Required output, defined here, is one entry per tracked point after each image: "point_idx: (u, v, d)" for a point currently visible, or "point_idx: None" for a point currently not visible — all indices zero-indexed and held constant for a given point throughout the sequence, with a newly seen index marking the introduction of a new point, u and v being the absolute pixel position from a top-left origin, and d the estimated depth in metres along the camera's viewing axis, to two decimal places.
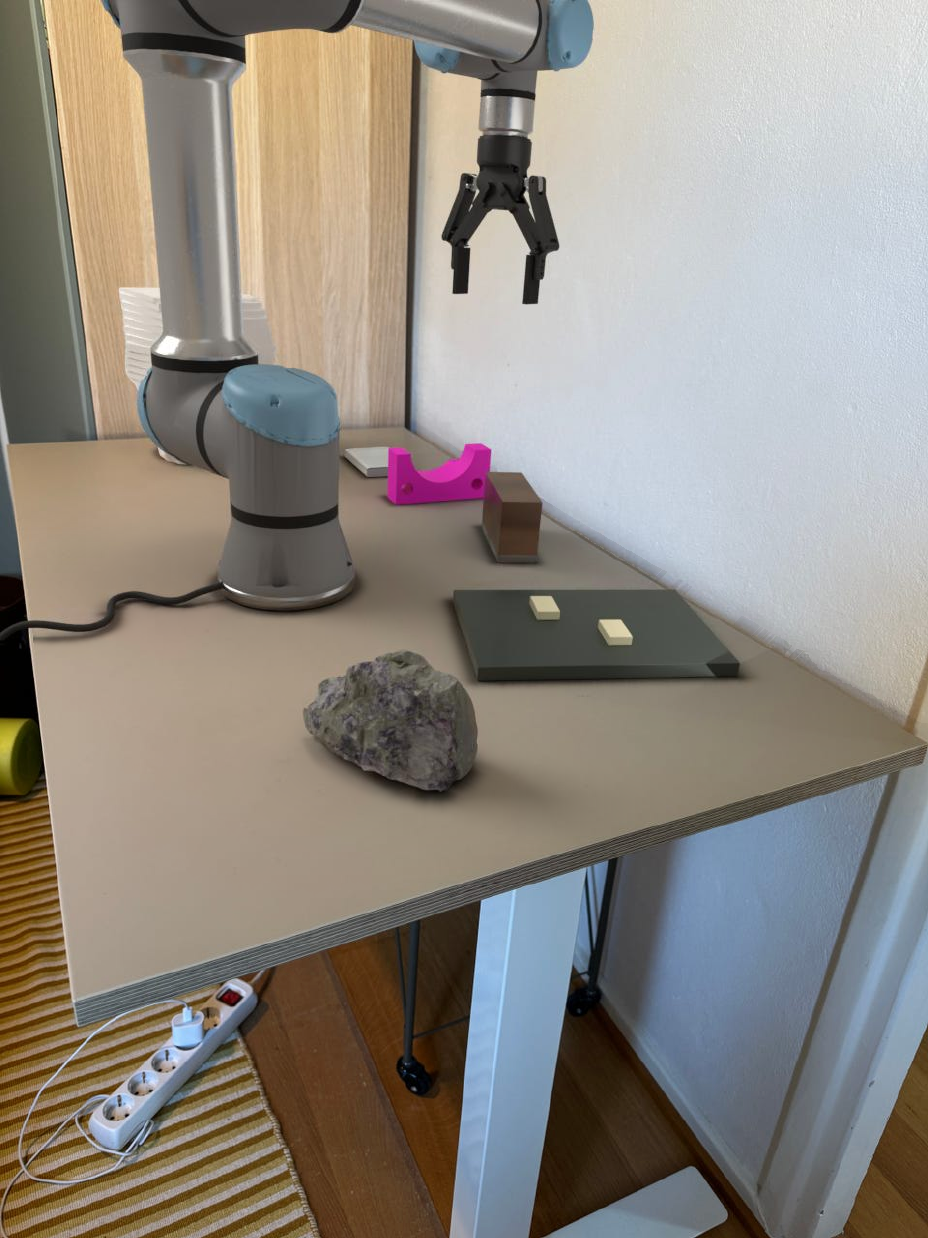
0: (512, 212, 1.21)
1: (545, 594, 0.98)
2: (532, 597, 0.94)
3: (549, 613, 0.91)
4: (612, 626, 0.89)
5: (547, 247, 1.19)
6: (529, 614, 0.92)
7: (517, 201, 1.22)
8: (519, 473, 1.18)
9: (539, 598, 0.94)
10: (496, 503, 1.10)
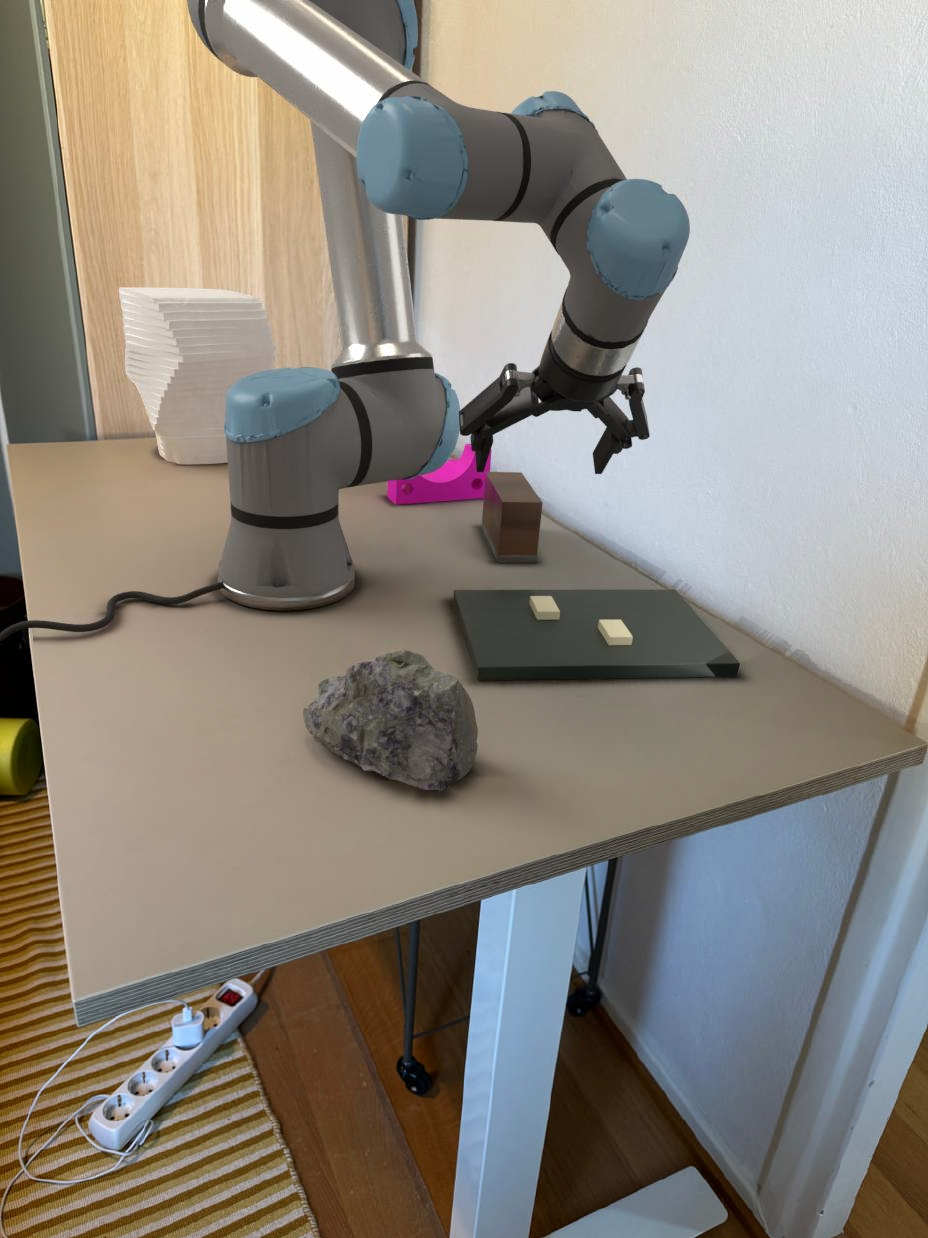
0: (598, 416, 0.87)
1: (545, 594, 0.98)
2: (532, 597, 0.94)
3: (549, 613, 0.91)
4: (612, 626, 0.89)
5: (646, 437, 0.92)
6: (529, 614, 0.92)
7: None
8: (519, 473, 1.18)
9: (539, 598, 0.94)
10: (496, 503, 1.10)
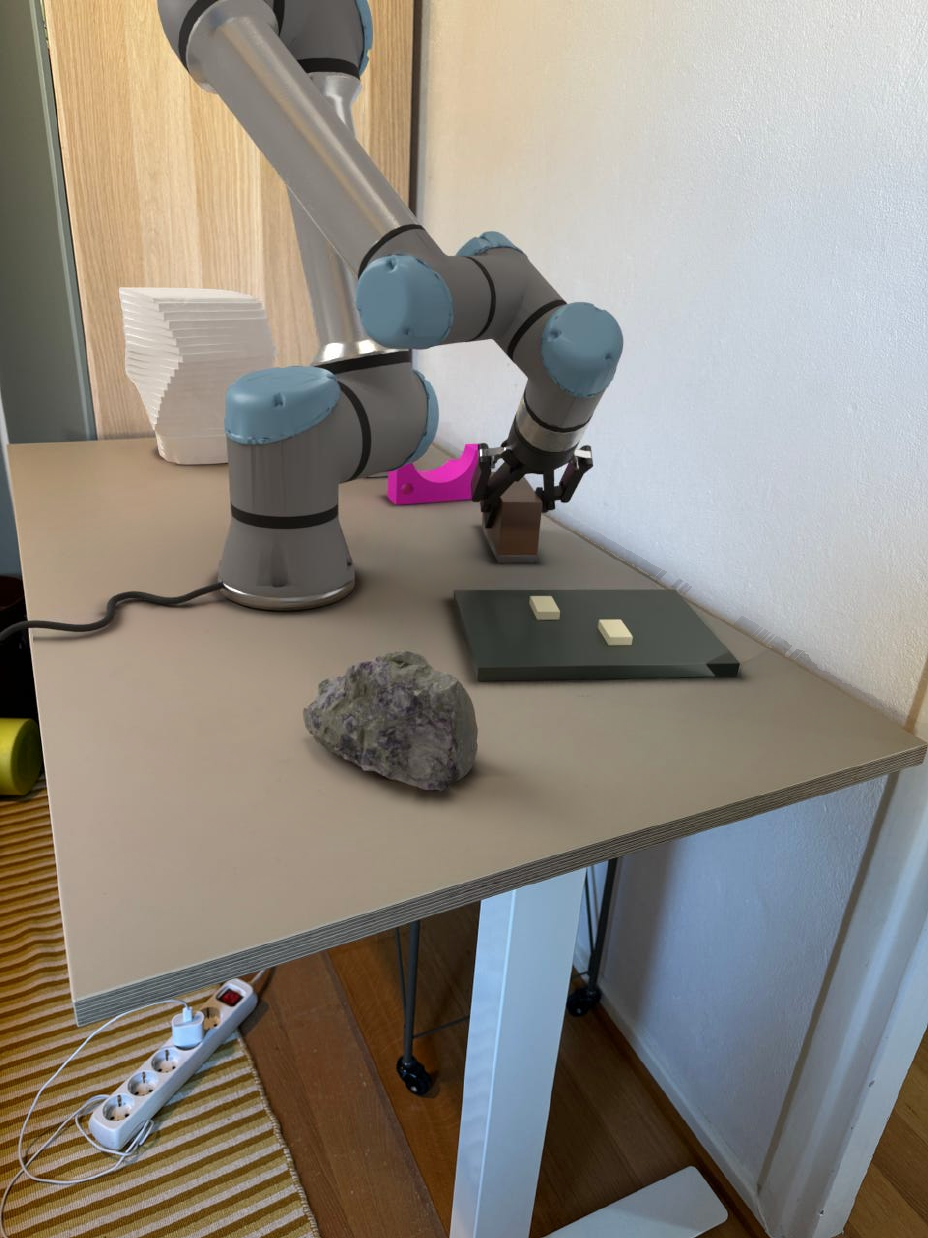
0: None
1: (545, 594, 0.98)
2: (532, 597, 0.94)
3: (549, 613, 0.91)
4: (612, 626, 0.89)
5: (566, 501, 1.08)
6: (529, 614, 0.92)
7: None
8: None
9: (539, 598, 0.94)
10: None
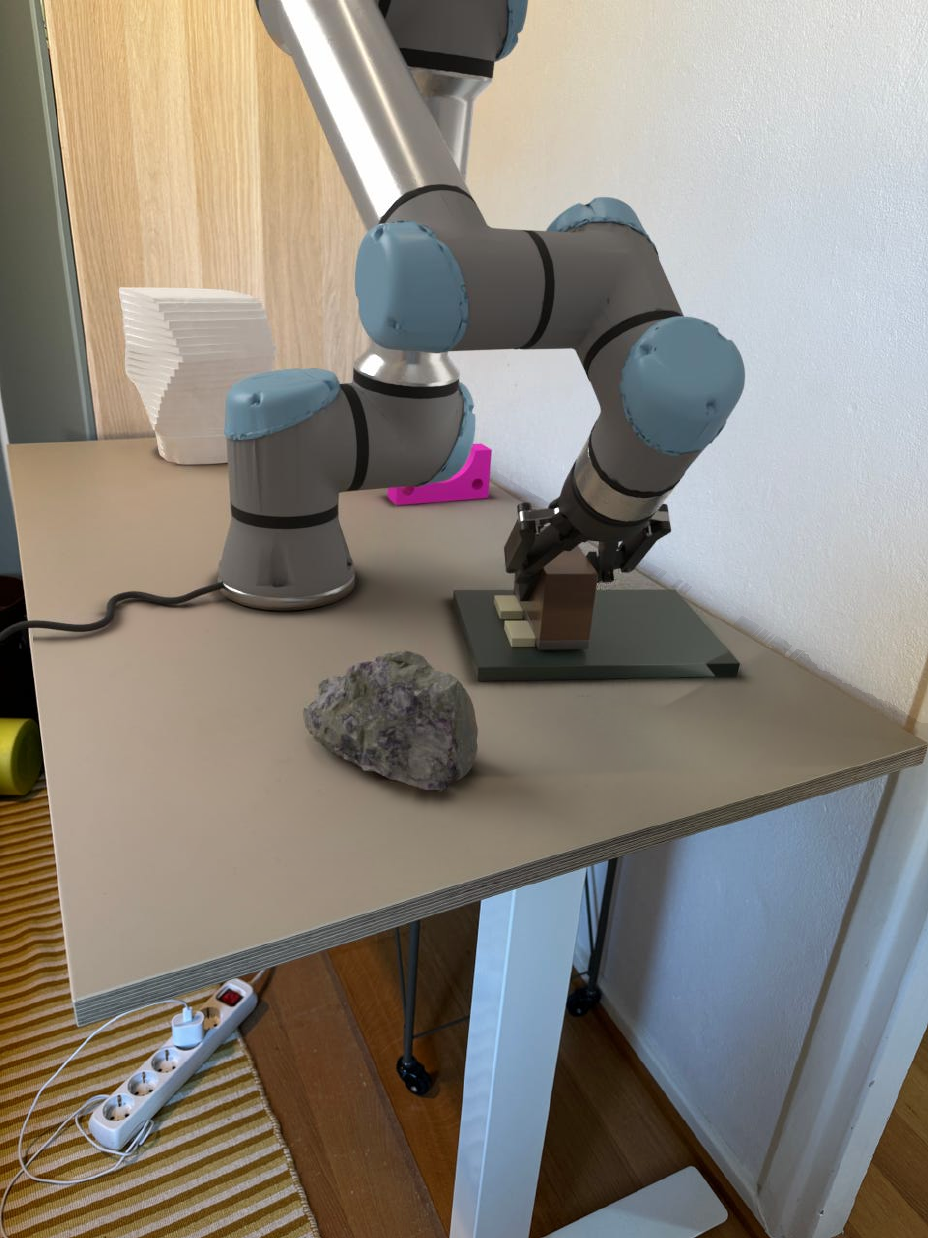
0: None
1: None
2: (496, 596, 0.94)
3: (512, 612, 0.91)
4: (517, 627, 0.87)
5: None
6: None
7: None
8: None
9: (503, 597, 0.93)
10: None
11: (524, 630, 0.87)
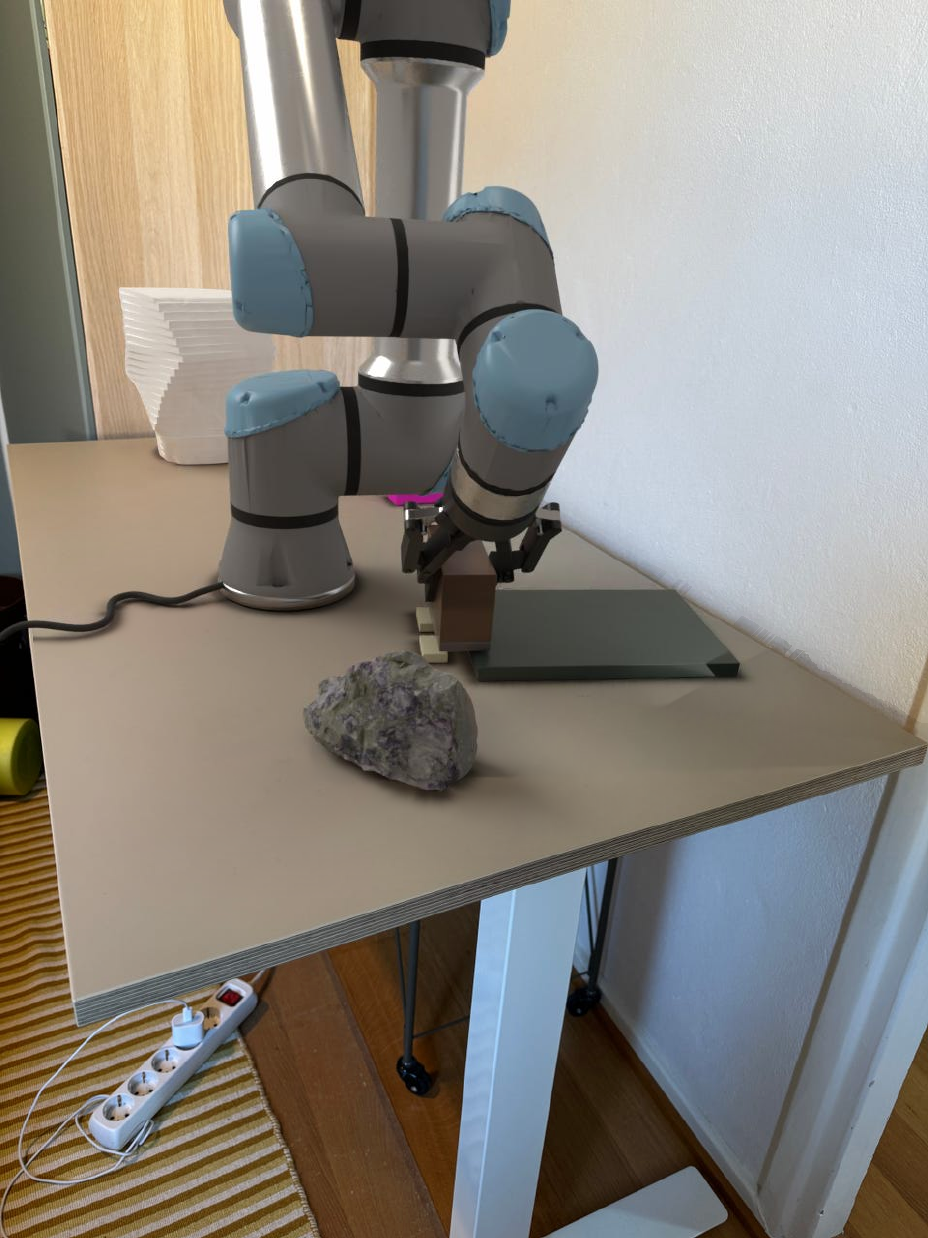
0: None
1: (545, 594, 0.98)
2: None
3: (430, 629, 0.91)
4: None
5: None
6: (529, 614, 0.92)
7: None
8: None
9: None
10: None
11: None
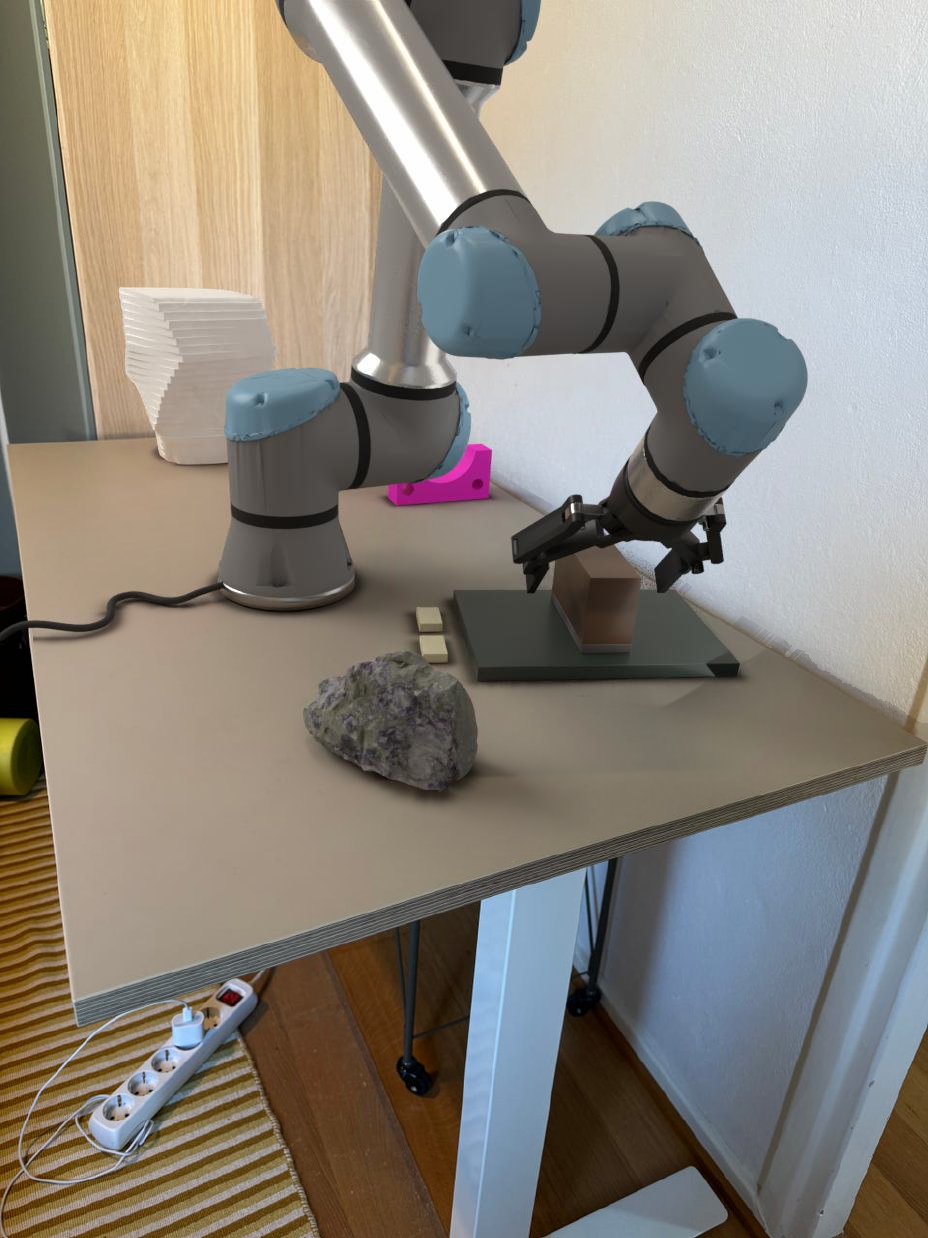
0: None
1: (545, 594, 0.98)
2: None
3: (430, 629, 0.91)
4: None
5: None
6: (529, 614, 0.92)
7: None
8: None
9: None
10: (578, 576, 0.85)
11: None
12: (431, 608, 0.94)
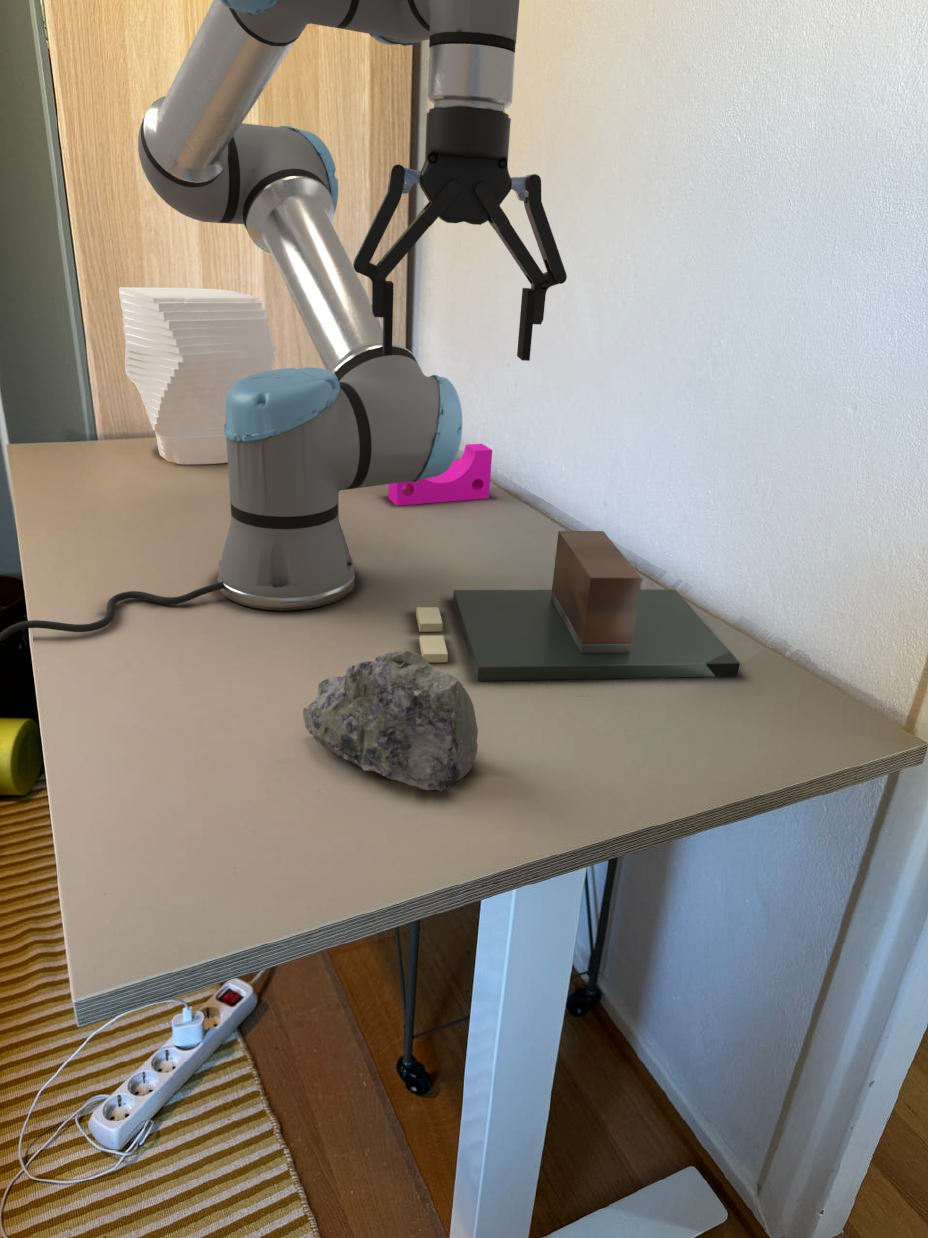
0: (501, 229, 0.81)
1: (545, 594, 0.98)
2: None
3: (430, 629, 0.91)
4: None
5: (563, 279, 0.83)
6: (529, 614, 0.92)
7: None
8: (601, 532, 0.93)
9: None
10: (578, 576, 0.85)
11: None
12: (431, 608, 0.94)
